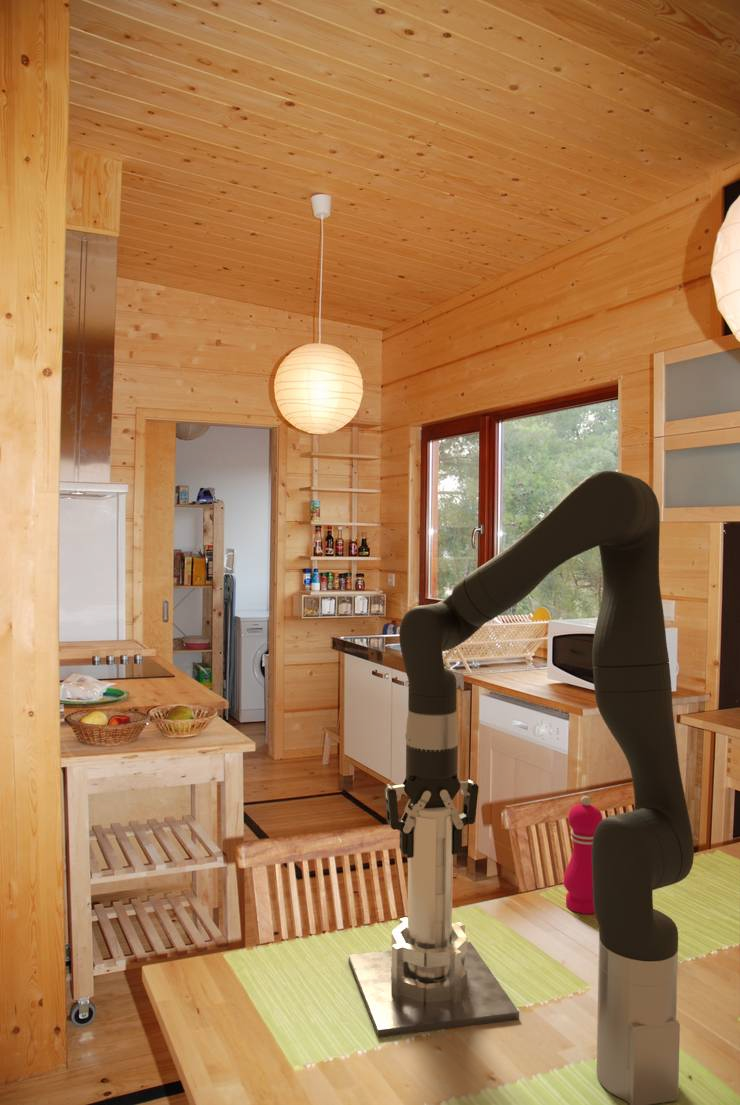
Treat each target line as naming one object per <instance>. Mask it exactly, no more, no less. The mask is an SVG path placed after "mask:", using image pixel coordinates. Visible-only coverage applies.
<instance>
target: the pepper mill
mask: <svg viewBox="0 0 740 1105" xmlns="http://www.w3.org/2000/svg"><path fill="white" fill-rule="evenodd" d="M603 819H604V818H603V814H602V813H601V811H600V809H598V807H596V806H595V805H592V800H591V798H590V797H589V796H588V795H584V796H582V797H581V798H580V803H578V804H576V805H573V806H572V807H571V808H570V810H569V812H568V816H567V822H568V824H569V826H570V827H571V828H572V829H571V830H570V834H571V835H570V839H571V841H572V846H573V847H572V853H571V857H570V860H569V862H568V864H567V866H566V869H565V871H564V875H563V885H564V887H565V889H566V891H567V892H566V894H565V905H566V907H567V908H568V909H569V910H571V911H572V912H575V913H578V914H581V913H582V914H583V915H593V914H594V913H595V911H594V904H593V876H592V843H593V837H594V833H595V830H596V828H597V826H598V824H599V823H600V822H601V821H602V820H603Z"/></svg>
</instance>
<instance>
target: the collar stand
mask: <svg viewBox="0 0 740 1105" xmlns="http://www.w3.org/2000/svg"><path fill="white" fill-rule="evenodd" d="M465 929H466V925H465V924H464V923H462V922H461V921H458V922H455V923H454V922H452V944H451V945H450V946H449V947H445V948H435V949H423V948H420V947H417V946H414V945H410V944H407V932H408V916H407V917H406V916H405V917H402V918H399V925H398V926H396V927H395V928H393V930H391V950H390V949H389V950H381V951H373V952H364V953H362V952H361V953H354V954H353V953H352V954H348V963H349V965H350V968H351V970H352V973H354V974H353V976H354V978H356V979H355V980H356V984H357V983H358V984H357V986H358V985H359V986H358V989H359V988H360V989H359V991H360V990H361V992H360V994H361V993H362V994H361V996H363V997H362V999H363V998H364V999H363V1001H365V1002H364V1004H365V1003H366V1005H365V1007H366V1006H367V1007H366V1009H367V1008H368V1010H367V1012H368V1011H369V1012H368V1014H370V1015H369V1017H370V1016H371V1017H370V1020H371V1019H372V1020H371V1022H373V1023H372V1024H374V1025H373V1027H375V1028H374V1031H375V1033H376V1032H377V1033H376V1035H377V1037H378V1038H382V1036H384V1037H389V1036H390V1035H392V1036H398V1035H399V1034H400V1035H406V1034H414V1033H422V1032H423V1033H424V1032H430V1031H438V1030H445V1029H453V1028H459V1027H460V1028H461V1027H468V1026H476V1025H483V1024H484V1025H485V1024H493V1023H497V1022H498V1023H499V1022H500V1023H501V1022H508V1021H509V1022H510V1021H514V1020H515V1021H516V1020H520V1011H519V1009H518V1008H517V1007H516V1005H515V1003H514V1002H513V1001H512V1000H511V998H510V997H509V996H508V994H507V993H506V991H505V989H504V988H503V987H502V985H501V983H499V981H498V980H497V978H496V976H495V975H494V974H493V972H492V971H491V969H490V968H489V966H488V965H487V964H486V963H485V961H484V960H483V958H482V956H481V955H480V953H479V952H478V950H477V949H476V948H475V946H474V945H473V943H472V942H471V941H468V937H467V935H466V932H465V931H466V930H465ZM407 962H408V963H411V964H414V965H417V966H420V967H423V968H424V967H425V966H426V968H430V967H439V966H448V965H449V979H448V980H446V981H444V982H440V983H431V984H424V983H421V982H418V981H415V980H413V979H412V978H411V977H410V976H409V975H408V972H407ZM400 1035H399V1036H400Z"/></svg>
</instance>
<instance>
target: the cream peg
mask: <svg viewBox="0 0 740 1105" xmlns="http://www.w3.org/2000/svg"><path fill="white" fill-rule="evenodd" d="M413 808H414V804H413V805H412V810H413ZM410 832H411V833H412V858H407V918H408V932H407V944H410V945H414V946H417V947H420V948H423V949H435V948H445V947H449V946H450V945H451V944H453V942H452V923H453V859H454V857H453V856H454V854H453V817H452V814H450V808H446V807H437V808H424V809H423V810H420V816H417V817H416V819H414V820H413V827H412V829H411V831H410ZM407 972H408V975H409V976H410V977H411V978H412V979H413V980H415V981H418V982H421V983H424V984H431V983H440V982H444V981H446V980H448V979H449V965H448V966H439V967H430V968H426V966H425V967H424V968H423V967H420V966H417V965H414V964H411V963H408V962H407Z"/></svg>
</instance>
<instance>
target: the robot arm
mask: <svg viewBox="0 0 740 1105" xmlns="http://www.w3.org/2000/svg"><path fill="white" fill-rule="evenodd" d="M660 524H661V512H660V505H659V501H658V498H657V496H656V493H655V492H654V490H653V488H652V487H651V486H650V485H649V484H648V483H647V482H646V481H644V480H642V479H641V478H639V477H635V476H633V475H630V474H626V473H623V472H619V471H614V470H613V471H612V470H603V471H598V472H595V473H592V474H590V475H588V476H587V477H585V478H584V479H583V480H582V481H580V482H579V483H578V484H577V485H576V486H575V487H573V489H572V490H571V491H570V492H568V494H566V496H564V497H563V499H562V500H560V501H559V502H558V504H556V506H554V507H553V508H552V510H550V511H549V512H548V514H546V515H545V516H544V517H543V518H542V519H540V520H539V521H538V522H537V523H536V524H535V525H533V527H531V528H530V529H529V530H528V531H527V532H526V533H524V534H523V535H522V536H521V537H520V538H518V539H517V540H516V541H515V542H513V543H512V544H510V545H509V546H508V547H507V548H505V549H504V550H502V551H501V552H500V553H498V554H497V555H495V556H494V557H493V558H491V559H490V560H488V561H487V562H485V563H484V564H482V565H481V566H479V567H477V568H476V569H475V570H473V571H472V572H471V573H469V574H467V575H466V576H465V577H463V578H462V579H461V580H460V581H458V582H457V583H456V584H455V585H454V587H453V589H452V592H451V594H450V595H448V596H447V597H446V598H444V599H443V600H440V601H439V602H436V603H431V604H424V605H422V604H421V605H416V606H414V607H412V608H410V609H409V610H408V611H407V612H406V613H405V614H404V616H403V618H402V620H401V623H400V626H399V633H398V634H399V636H398V638H399V646H400V650H401V655H402V656H401V657H402V660H403V664H404V671H405V673H406V676H407V679H408V680H407V681H408V691H407V692H408V695H407V696H408V697H407V698H408V701H407V703H408V705H407V707H408V708H407V709H408V710H407V716H406V717H407V718H406V725H405V726H406V730H405V731H406V732H405V742H406V743H405V744H406V745H405V778H404V781H403V782H402V784H396V785H392V784H390V783H387V784H385V785H384V787H383V791H384V800H385V802H384V803H385V812H386V813H385V815H386V823H387V824H388V825H389V826H390V828H391V829H392V830H395V831H396V830H397V831H399V850H400V852H401V853H402V854H403V855H404V857H405V858H406V859H408V858H412V833H411V832H410V831H411V829H412V827H413V820H414V819H416V817H417V816H420V810H423V809H424V808H437V807H446V808H450V814H452V817H453V855H458V854H459V851H460V850H462V847H463V840H462V839H463V829H464V827H465V826H467V825H473V824H474V823H476V815H477V805H478V797H479V787H480V786H479V785H478V784H477V783H476V782H475V781H474V780H473V779H471V778H469V779H467V780H459V777H458V767H459V766H458V764H459V762H458V761H459V759H458V758H459V757H458V755H459V723H458V716H457V715H458V714H457V703H458V702H457V701H458V699H457V697H458V696H457V695H458V694H457V692H458V690H457V688H458V687H457V685H458V684H457V679H456V675H455V674H454V673H453V672H452V671H451V670H449V669H448V668H447V669H446V668H445V662H444V656H443V652H445V651H449V650H452V649H454V648H456V647H458V646H459V645H461V644H462V643H464V642H465V641H467V640H469V639H470V638H471V637H472V636H474V634H475V633H476V632H478V631H479V630H480V629H481V628H482V627H483V626H484V625H485V624H486V623H489V622H490V621H492V620H493V619H495V618H497V617H498V616H500V615H502V614H503V613H504V612H506V611H508V610H510V609H511V608H513V607H514V606H515V605H517V604H518V603H520V602H521V601H522V600H524V599H525V598H527V597H528V596H529V595H530V594H531V593H532V592H533V591H534V590H535V589H536V588H537V587H538V586H539V585H540V584H541V582H542V581H543V580H544V579H545V578H546V577H547V576H548V575H550V573H552V572H553V571H554V570H555V569H557V568H558V567H559V566H561V565H562V564H564V563H566V562H567V561H569V560H571V559H573V558H574V557H576V556H578V555H580V554H582V553H584V552H588V551H590V550H592V549H593V548H596V547H598V549H599V553H600V555H599V556H600V563H601V571H602V597H601V602H600V607H599V611H598V616H597V620H596V624H595V629H594V635H593V640H592V641H593V642H592V648H591V649H592V651H591V654H592V655H591V660H592V665H591V666H592V674H593V676H592V677H593V685H594V696H595V702H596V706H597V708H598V709H597V710H598V711H599V713H600V715H601V718H602V720H603V721H604V723H605V725H606V726H607V728H608V730H609V732H610V734H611V735H612V737H613V738H614V739H615V741H616V743H617V745H619V747H620V749H621V751H622V752H623V754H624V756H625V758H626V760H627V763H628V766H629V769H630V773H631V780H632V787H633V788H632V789H633V795H634V796H633V797H634V810H632V811H627V812H622V813H617V814H614V815H609V816H607V817H605V818H603V820H602V821H601V822H600V823H599V824H598V826H597V828H596V830H595V833H594V837H593V843H592V876H593V904H594V911H595V917H596V921H597V924H598V929H599V930H598V933H599V934H598V971H597V972H598V976H597V977H598V978H597V981H598V982H597V1018H596V1019H597V1028H596V1031H597V1032H596V1076H597V1079H598V1081H599V1083H600V1084H601V1085H602V1087H603V1088H604V1089H605V1090H607V1091H608V1092H609V1093H610V1094H612V1095H614V1096H615V1097H618V1098H620V1099H622V1100H624V1101H626V1102H627V1103H628V1104H629V1105H655V1104H656V1105H657V1104H663V1103H668V1102H669V1103H670V1102H675V1101H678V1100H679V1084H680V1083H679V1081H680V1076H679V1075H680V1074H679V1073H680V1070H679V1069H680V1039H681V1037H680V1036H681V1034H680V1033H681V1031H680V1030H681V1029H680V1028H681V1024H680V1022H679V1021H678V1020H677V1003H678V1002H677V999H678V998H677V997H678V965H679V964H678V962H679V959H678V958H679V930H678V927H677V924H676V922H675V921H674V920H673V919H672V918H671V917H669V916H668V915H667V914H665V913H663V912H662V911H660V910H658V909H655V908H654V900H653V893H654V892H653V891H655V890H658V889H661V888H664V887H668V886H672V885H674V884H677V883H679V882H681V881H683V880H685V879H686V878H687V876H688V875H689V874H690V873H691V870H692V869H693V868H692V867H693V866H694V865H693V864H694V859H695V858H694V857H695V851H694V850H695V847H694V846H695V845H694V844H695V843H694V838H693V830H692V825H691V820H690V815H689V808H688V806H687V800H686V795H685V790H684V784H683V779H682V773H681V769H680V762H679V760H680V759H679V753H678V744H677V735H676V727H675V720H674V719H675V718H674V711H673V710H674V709H673V707H674V706H673V690H672V688H673V687H672V679H671V668H670V657H669V650H668V645H667V644H668V643H667V633H666V626H665V625H666V624H665V623H666V622H665V615H664V607H663V600H662V592H661V585H660V536H661V535H660V529H661V528H660V527H661V526H660ZM459 791H461V792H460V793H461V794H462V795H463V802H462V812H461V814H460V813H459V812H458V809H457V807H456V806H455V804H454V802H453V801H454V799H455V797H456V795H457V794H458V793H459ZM402 794H405V795H406V796H407V797H408V800H407V803H406V805H405V807H404V812H403V814H402V816H401V818H399V809H398V802H399V801H401V799H402ZM413 804H414V808H413V810H412V805H413Z"/></svg>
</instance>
